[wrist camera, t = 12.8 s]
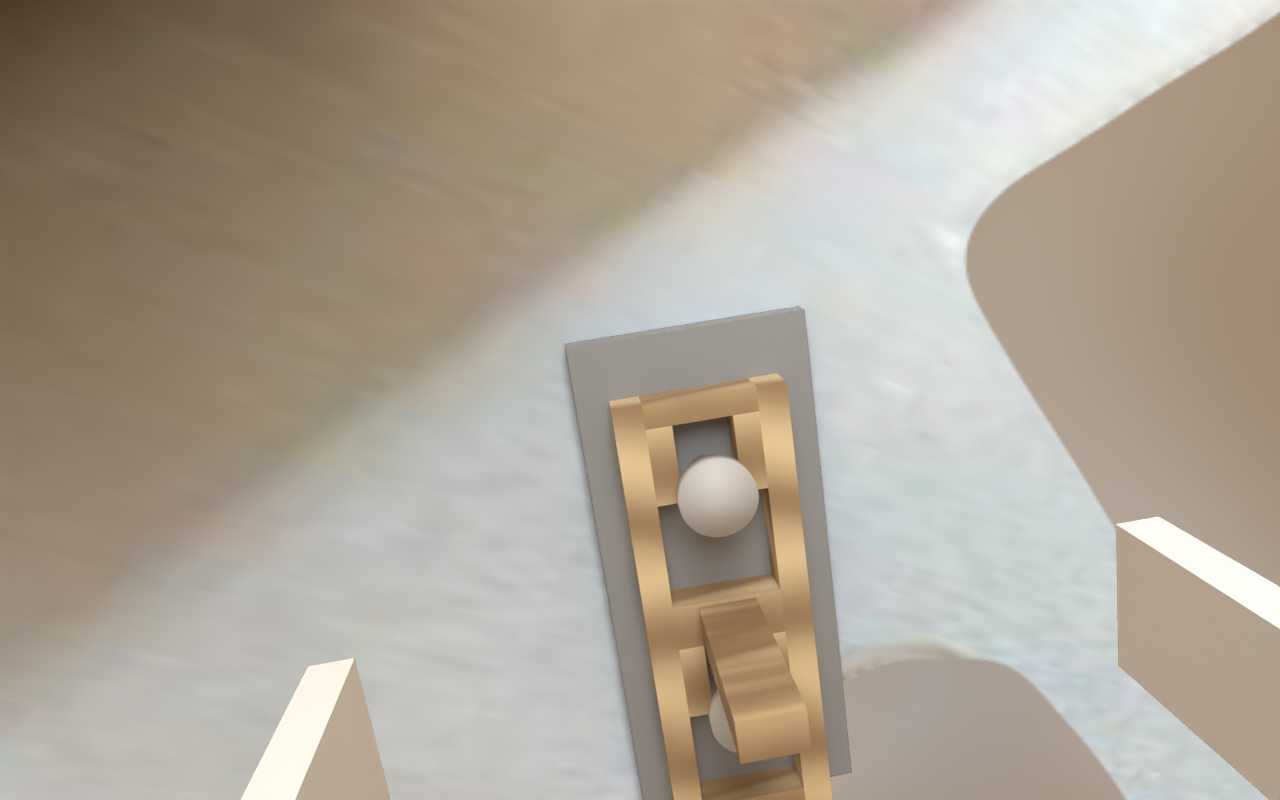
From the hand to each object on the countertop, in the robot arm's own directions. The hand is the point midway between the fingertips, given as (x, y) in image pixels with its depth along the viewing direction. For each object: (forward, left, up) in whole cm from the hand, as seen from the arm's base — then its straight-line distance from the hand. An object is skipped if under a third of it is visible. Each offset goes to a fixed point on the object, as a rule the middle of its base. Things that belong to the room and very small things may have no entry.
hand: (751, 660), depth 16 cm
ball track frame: (+15, +3, -31) cm, 34 cm away
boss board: (+14, +3, -32) cm, 35 cm away
